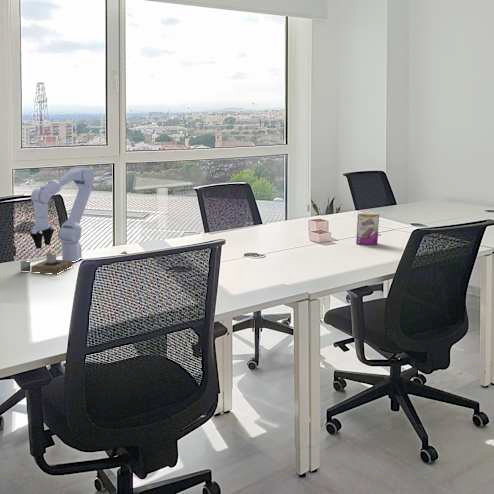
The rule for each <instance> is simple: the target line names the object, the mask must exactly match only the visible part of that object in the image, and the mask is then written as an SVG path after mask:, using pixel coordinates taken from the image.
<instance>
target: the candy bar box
mask: <svg viewBox="0 0 494 494" xmlns="http://www.w3.org/2000/svg"><path fill="white" fill-rule="evenodd" d="M356 218H357V219H356V221H357V222H356V234H355V235H356V236H355V238H356V240H355V242H356V243H355V244H356V245H369V246H370V245H372V246H373V245H374V246H375V245H376V246H377V245H378V241H379V240H378V239H379V237H378V236H379V223H380V221H379V219H380V214H379V213H378V212H359V211H358V212H357V217H356Z"/></svg>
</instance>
